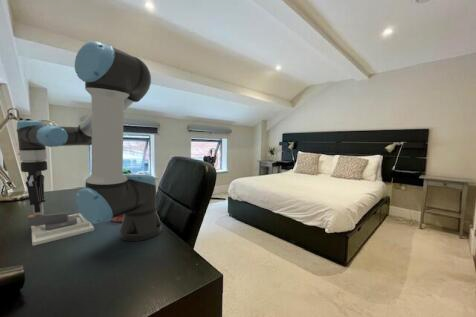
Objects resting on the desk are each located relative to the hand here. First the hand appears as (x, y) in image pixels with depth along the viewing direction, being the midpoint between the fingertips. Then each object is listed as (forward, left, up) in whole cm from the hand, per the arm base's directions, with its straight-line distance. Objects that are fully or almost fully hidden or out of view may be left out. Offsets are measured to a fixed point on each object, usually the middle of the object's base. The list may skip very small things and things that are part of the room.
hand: (39, 219), depth 86 cm
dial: (-3, -4, -3) cm, 6 cm away
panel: (-4, -6, -5) cm, 9 cm away
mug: (-10, -28, -5) cm, 31 cm away
